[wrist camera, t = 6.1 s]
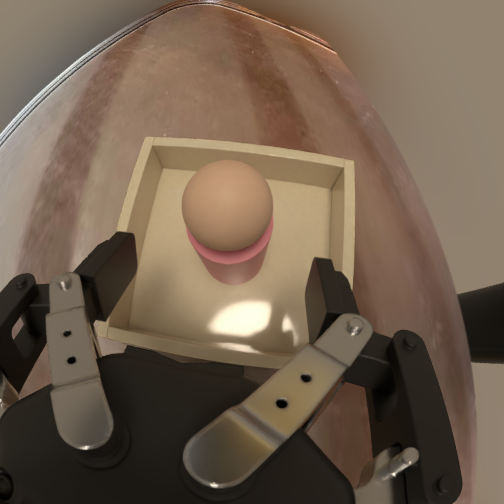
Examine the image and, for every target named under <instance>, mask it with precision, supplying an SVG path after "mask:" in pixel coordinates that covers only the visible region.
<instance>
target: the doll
mask: <svg viewBox="0 0 504 504" xmlns="http://www.w3.org/2000/svg"><path fill="white" fill-rule="evenodd" d="M182 215H183V219H184V222H185V224H186V231H187V235H188V238H189V240H190V242H191V244H192V246H193V247H194V249H195V251H196V252H197V254H198V256H199V257H200V259H201V260H202V262H203V264H204V265H205V267H206V269H207V270H208V272H209V273H210V274H211V275H212V276H213V277H214V278H215V279H216V280H218V281H220V282H222V283H225V284H229V285H238V284H243V283H245V282H248V281H249V280H251V279H252V278H254V277H255V276H256V275H257V274H258V272H259V271H260V269H261V267H262V265H263V262H264V258H265V255H266V252H267V248H268V245H269V241H270V238H271V235H272V231H273V197H272V193H271V189H270V187H269V185H268V183H267V181H266V180H265V178H264V177H263V176H262V175H261V174H260V173H259V172H258V171H257V170H256V169H254V168H253V167H251V166H250V165H248V164H246V163H243V162H240V161H235V160H220V161H216V162H212V163H210V164H207V165H206V166H204V167H202V168H201V169H199V170H198V171H197V172H196V173H195V174H194V175H193V176H192V177H191V179H190V180H189V182H188V183H187V185H186V187H185V190H184V193H183V197H182Z"/></svg>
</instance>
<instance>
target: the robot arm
mask: <svg viewBox="0 0 504 504" xmlns="http://www.w3.org/2000/svg"><path fill="white" fill-rule="evenodd" d="M137 267H138V261H137V251H136V241H135V235H134V233H130V232H122V231H117V232H116V233H115V234H114V235H113V236H112V237H111V238H110V239H109V240H106V241H104V242H103V243H101V244H99V245H98V246H97V247H96V248H95V249H94V250H93V251H92V252H91V253H90V254H89V255H88V257H86V258H85V259H84V260H83V262H82V263H81V264H80V265H79V266H78V267H77V268H76V269H75V270H74V272H65V273H61V274H59V275H57V276H55V277H54V278H53V279H52V280H51V282H50V284H37V283H36V280H35V277H34V276H33V275H32V274H29V273H25V274H20V275H18V276H16V277H14V278H13V279H12V280H11V281H10V282H9V283H8V284H7V285H6V287H5V288H4V289H3V290H2V291H1V292H0V504H452V503H454V502H455V501H456V500H457V498H458V497H459V495H460V493H461V490H462V476H461V471H460V465H459V460H458V455H457V450H456V446H455V441H454V437H453V433H452V429H451V425H450V421H449V417H448V413H447V410H446V406H445V403H444V399H443V396H442V393H441V390H440V386H439V383H438V380H437V377H436V374H435V371H434V368H433V365H432V362H431V359H430V357H429V354H428V351H427V348H426V346H425V343H424V341H423V340H422V339H421V337H419V336H418V335H417V334H416V333H414V332H411V331H408V330H400V331H397V332H396V333H395V334H394V336H393V338H390V337H387V336H384V335H381V334H378V333H375V332H373V328H372V325H371V324H370V322H369V321H368V320H367V319H365V318H364V317H362V316H360V314H359V311H358V308H357V305H356V301H355V298H354V295H353V292H352V289H351V286H350V283H349V280H348V278H347V277H346V276H345V275H344V274H343V273H342V272H341V271H335V269H334V266H333V262H332V260H331V259H328V258H320V257H314V258H313V261H312V265H311V269H310V273H309V277H308V280H307V284H306V289H305V307H306V316H307V325H308V334H309V343H307V344H305V345H304V346H303V347H302V348H301V349H300V350H299V351H298V352H297V353H296V354H295V355H294V356H293V357H292V358H291V359H290V360H289V361H288V362H286V363H285V364H284V365H283V366H282V367H281V368H280V369H279V370H278V371H277V372H276V373H275V374H274V375H273V376H271V377H270V378H269V379H268V380H267V381H266V382H265V383H264V384H261V383H259V382H258V381H256V380H254V379H252V378H250V377H247V376H245V375H243V374H244V366H237V365H229V364H222V363H216V362H209V363H180V362H177V361H175V360H173V359H170V358H168V357H166V356H164V355H161V354H159V353H157V352H155V351H151V350H146V349H142V348H138V347H134V346H129V345H127V347H126V349H125V352H124V353H117V354H110V355H106V356H102V353H101V350H100V346H99V342H98V339H97V335H96V331H95V327H94V322H95V320H99V321H103V322H106V321H107V319H108V318H109V316H110V314H111V313H112V311H113V309H114V308H115V306H116V305H117V303H118V301H119V300H120V298H121V297H122V295H123V293H124V292H125V290H126V289H127V287H128V286H129V284H130V282H131V281H132V279H133V278H134V276H135V275H136V272H137ZM20 317H21V319H22V321H23V324H24V325H23V327H22V328H21V330H20V331H19V333H18V334H17V336H16V337H15V339H14V340H13V338H12V328H13V326H14V325H15V323H16V322H17V320H18V319H19V318H20ZM46 343H47V347H48V357H49V365H50V373H51V380H52V383H51V384H49V385H47V386H45V387H44V388H42V389H40V390H38V391H36V392H34V393H32V394H30V395H28V396H27V397H25V398H23V399H21V400H19V396H18V395H19V393H20V391H21V389H22V387H23V385H24V383H25V381H26V379H27V377H28V376H29V374H30V372H31V370H32V368H33V366H34V364H35V363H36V361H37V359H38V357H39V356H40V354H41V352H42V350H43V349H44V347H45V345H46ZM345 382H349V383H352V384H355V385H359V386H362V387H365V390H366V397H367V405H368V413H369V422H370V431H371V441H372V453H373V459H372V460H371V461H369V462H368V463H367V464H366V465H365V466H364V467H363V469H362V471H361V475H360V481H359V484H358V486H357V487H356V489H353V487H352V485H351V483H350V482H349V480H348V479H347V478H346V477H345V476H344V474H343V473H342V472H341V471H340V470H339V469H338V468H337V467H336V466H335V465H334V464H333V463H332V462H331V460H330V459H329V458H328V457H327V456H326V455H325V454H324V453H323V452H322V450H321V449H320V448H319V447H318V446H317V445H316V444H315V443H314V441H313V440H312V439H311V438H310V437H309V436H308V435H307V431H308V430H309V429H310V428H311V427H312V425H313V424H314V423H315V422H316V420H317V419H318V417H319V416H320V415H321V413H322V412H323V411H324V410H325V408H326V407H327V406H328V405H329V403H330V402H331V401H332V399H333V398H334V397H335V395H336V394H337V393H338V392H339V390H340V389H341V388H342V386H343V385H344V383H345Z"/></svg>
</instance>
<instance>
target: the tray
mask: <svg viewBox="0 0 504 504" xmlns="http://www.w3.org/2000/svg"><path fill="white" fill-rule="evenodd" d="M220 160H235V161H240V162H243V163H246V164H248V165H250V166H251V167H253V168H254V169H256V170H257V171H258V172H259V173H260V174H261V175H262V176H263V177H264V178H265V180H266V181H267V183H268V185H269V187H270V189H271V193H272V197H273V231H272V235H271V238H270V241H269V245H268V248H267V252H266V255H265V258H264V262H263V265H262V267H261V269H260V271H259V272H258V274H257V275H256V276H255V277H254V278H252V279H251V280H249V281H248V282H245V283H243V284H238V285H229V284H225V283H222V282H220V281H218V280H216V279H215V278H214V277H213V276H212V275H211V274H210V273H209V272H208V270H207V269H206V267H205V265H204V264H203V262H202V260H201V259H200V257H199V256H198V254H197V252H196V251H195V249H194V247H193V246H192V244H191V242H190V240H189V238H188V235H187V231H186V224H185V222H184V219H183V215H182V197H183V193H184V190H185V187H186V185H187V183H188V182H189V180H190V179H191V177H192V176H193V175H194V174H195V173H196V172H197V171H198V170H199V169H201V168H202V167H204V166H206V165H207V164H210V163H212V162H216V161H220ZM117 231H122V232H130V233H134V235H135V241H136V251H137V261H138V267H137V272H136V275H135V276H134V278H133V279H132V281H131V282H130V284H129V286H128V287H127V289H126V290H125V292H124V293H123V295H122V297H121V298H120V300H119V301H118V303H117V305H116V306H115V308H114V309H113V311H112V313H111V314H110V316H109V318H108V319H107V321H106V322H103V321H98V329H97V336H100V337H104V338H108V339H111V340H115V341H119V342H123V343H127V344H131V345H135V346H139V347H144V348H148V349H153V350H157V351H162V352H167V353H172V354H177V355H182V356H187V357H193V358H199V359H205V360H211V361H217V362H224V363H231V364H238V365H246V366H254V367H263V368H272V369H280V368H281V367H282V366H283V365H284V364H285V363H286V362H288V361H289V360H290V359H291V358H292V357H293V356H294V355H295V354H296V353H297V352H298V351H299V350H300V349H301V348H302V347H303V346H304V345H305V344H307V343H309V334H308V325H307V316H306V307H305V289H306V284H307V280H308V277H309V273H310V269H311V265H312V261H313V258H314V257H320V258H328V259H331V260H332V262H333V266H334V269H335V271H341V272H342V273H343V274H344V275H345V276H346V277H347V278H348V280H349V283H350V286H351V289H352V288H353V271H354V246H355V178H354V161H352V160H347V159H342V158H337V157H332V156H326V155H321V154H315V153H310V152H304V151H298V150H291V149H285V148H278V147H270V146H263V145H255V144H246V143H237V142H227V141H215V140H202V139H187V138H165V137H146V138H145V140H144V143H143V146H142V148H141V151H140V154H139V157H138V160H137V163H136V166H135V169H134V172H133V175H132V178H131V181H130V184H129V187H128V191H127V194H126V197H125V201H124V204H123V208H122V211H121V215H120V219H119V222H118V226H117V230H116V232H117Z"/></svg>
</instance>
